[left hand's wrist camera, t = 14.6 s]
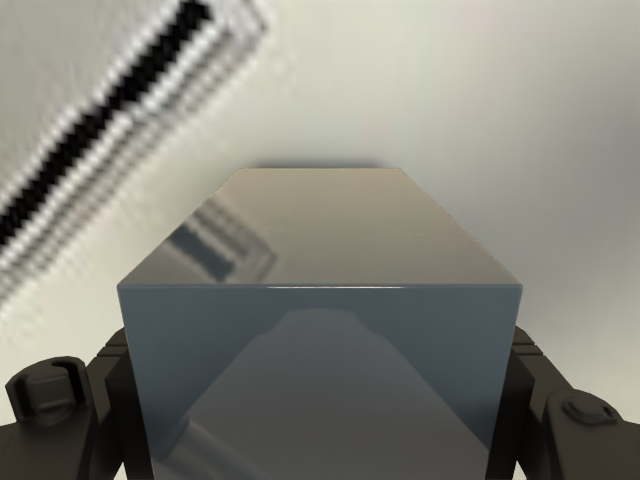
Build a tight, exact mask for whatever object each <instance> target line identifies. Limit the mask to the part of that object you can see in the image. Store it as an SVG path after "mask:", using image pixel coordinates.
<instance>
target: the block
mask: <svg viewBox="0 0 640 480" xmlns="http://www.w3.org/2000/svg"><path fill="white" fill-rule="evenodd" d="M522 289H523V286H522V284H521V283H520V282H519V281H518V280H517V279H516V278H515V277H514V276H513V275H512V274H511V273H510V272H509V271H507V270H506V269H505V268H504V267H503V266H502V265H501V264H500V263H499V262H498V261H497V260H496V259H495V258H494V257H493V256H492V255H491V254H490V253H489V252H488V251H486V250H485V249H484V248H483V247H482V246H481V245H480V244H479V243H478V242H477V241H476V240H475V239H474V238H473V237H472V236H471V235H470V234H469V233H468V232H466V231H465V230H464V229H463V228H462V227H461V226H460V225H459V224H458V223H457V222H456V221H455V220H454V219H453V218H452V217H451V216H450V215H449V214H448V213H447V212H445V211H444V210H443V209H442V208H441V207H440V206H439V205H438V204H437V203H436V202H435V201H434V200H433V199H432V198H431V197H430V196H429V195H428V194H427V193H426V192H424V191H423V190H422V189H421V188H420V187H419V186H418V185H417V184H416V183H415V182H414V181H413V180H412V179H411V178H410V177H409V176H408V175H407V174H406V173H404V172H403V171H402V170H401V169H400V168H240V169H238V170H237V171H236V172H235V173H234V174H233V175H232V176H231V177H230V178H229V179H228V180H227V181H226V182H225V183H224V184H223V185H222V186H220V187H219V188H218V189H217V190H216V191H215V192H214V193H213V194H212V195H211V196H210V197H209V198H208V199H207V200H206V201H205V202H204V203H203V204H202V205H200V206H199V207H198V208H197V209H196V210H195V211H194V212H193V213H192V214H191V215H190V216H189V217H188V218H187V219H186V220H185V221H184V222H183V223H182V224H180V225H179V226H178V227H177V228H176V229H175V230H174V231H173V232H172V233H171V234H170V235H169V236H168V237H167V238H166V239H165V240H164V241H163V242H162V243H160V244H159V245H158V246H157V247H156V248H155V249H154V250H153V251H152V252H151V253H150V254H149V255H148V256H147V257H146V258H145V259H144V260H143V261H142V262H140V263H139V264H138V265H137V266H136V267H135V268H134V269H133V270H132V271H131V272H130V273H129V274H128V275H127V276H126V277H125V278H124V279H123V280H122V281H120V282H119V283H118V284H117V292H118V297H119V302H120V307H121V312H122V317H123V322H124V327H125V332H126V337H127V342H128V347H129V352H130V357H131V362H132V368H133V373H134V378H135V383H136V388H137V393H138V398H139V403H140V408H141V413H142V418H143V423H144V428H145V433H146V438H147V443H148V448H149V453H150V458H151V463H152V468H153V473H154V478H155V480H485V476H486V471H487V466H488V461H489V456H490V451H491V446H492V441H493V435H494V430H495V425H496V420H497V415H498V410H499V405H500V400H501V395H502V390H503V385H504V380H505V375H506V370H507V365H508V360H509V355H510V350H511V345H512V340H513V335H514V330H515V325H516V320H517V315H518V310H519V305H520V300H521V294H522Z"/></svg>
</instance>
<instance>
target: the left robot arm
mask: <svg viewBox="0 0 640 480" xmlns="http://www.w3.org/2000/svg"><path fill="white" fill-rule="evenodd" d="M5 388H6V391H7V394H8V397H9V400H10V403H11V406H12V409H13V412H14V414H15V417H16V420H17V421H16V422H15V423H12V424H8V425H3V426H0V480H114V477H115V476H116V474H117V472H118V470H119V468H120V466H121V464H122V462H123V463H124V467H125V471H126V476H127V480H155V478H154V473H153V468H152V463H151V458H150V453H149V448H148V443H147V438H146V433H145V428H144V423H143V418H142V413H141V408H140V403H139V398H138V393H137V388H136V383H135V378H134V373H133V368H132V362H131V357H130V352H129V347H128V342H127V337H126V332H125V327H123V328H122V329H120V330H119V331H117V332H116V333H115V334H114V335H113V336H112V337H111V338H110V340H109V341H108V342H107V343H106V344H105V347H103V348H102V349H101V350H100V351H99V353H98V354H97V357H94V358H93V360H92V361H91V362H90V363H89V364H88V366H87V367H85V363H84V362H83V361H82V360H80V359H79V358H76V357H70V356H64V357H54V358H50V359H47V360H43V361H39V362H37V363H35V364H33V365H31V366H28V367H26V368H24V369H23V370H21V371H20V372H19V373H17V374H16V375H14V376H13V377H12V378H11V379H10V380H9V381H8V383H7V384H6V385H5ZM517 461H518V463H519V465H520V466H521V468H522V470H523V472H524V474H525V476H526V478H527V479H526V480H640V424H636V423H631V422H627V421H624V420H623V419H622V417H621V416H620V414H619V413H618V412H617V410H616V409H614V408H613V407H612V406H611V405H609V404H608V403H607V402H606V401H604V400H602V399H600V398H598V397H596V396H594V395H592V394H590V393H587V392H584V391H581V390H577V389H573V387H572V386H571V385H570V384H569V383H568V382H567V380H566V379H565V378H564V377H563V376H562V375H561V373H560V372H559V371H558V370H557V369H556V368H555V366H554V365H553V364H552V363H551V362H550V360H549V359H548V358H547V357H546V356H544V355H543V352H542V351H541V350H540V349H539V348H538V346H537V345H535V343H534V342H533V341H532V339H531V338H530V337H529V336H528V335H527V334H526V332H525V331H524V330H522V329H520V328H519V327H517V326H516V325H515V330H514V335H513V340H512V345H511V350H510V355H509V360H508V365H507V370H506V375H505V380H504V385H503V390H502V395H501V400H500V405H499V410H498V415H497V420H496V425H495V430H494V435H493V441H492V446H491V451H490V456H489V461H488V466H487V471H486V476H485V480H512V479H513V474H514V470H515V466H516V462H517Z"/></svg>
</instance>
